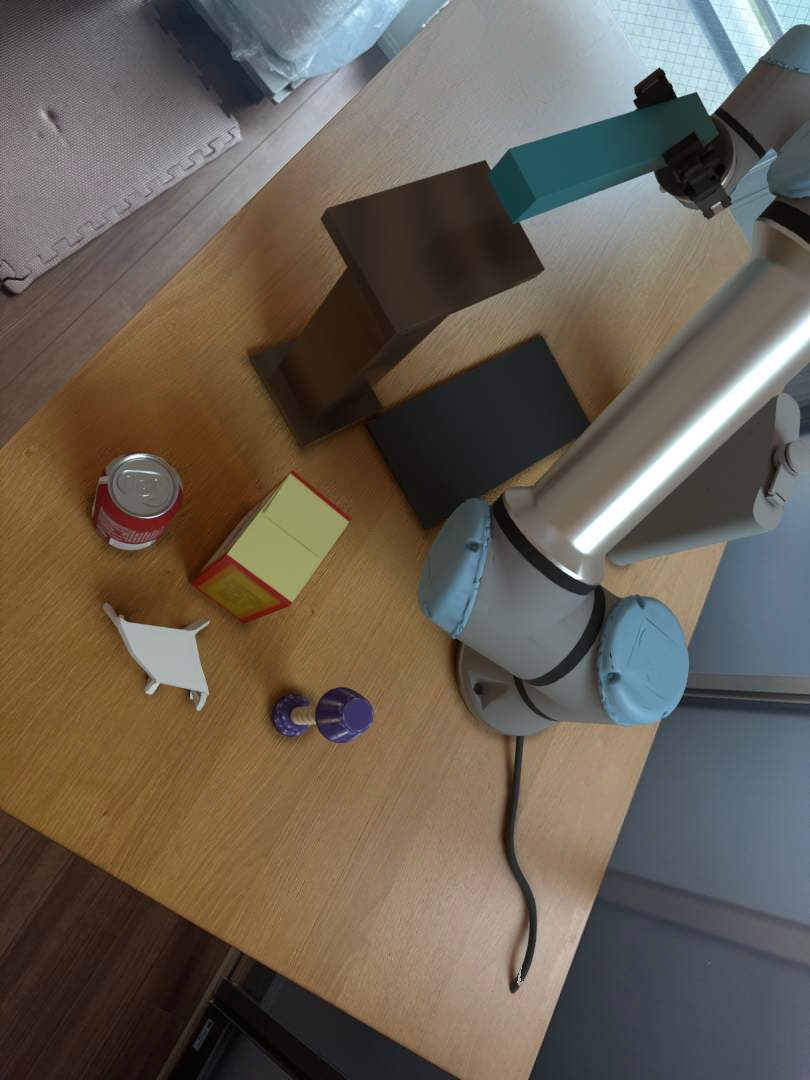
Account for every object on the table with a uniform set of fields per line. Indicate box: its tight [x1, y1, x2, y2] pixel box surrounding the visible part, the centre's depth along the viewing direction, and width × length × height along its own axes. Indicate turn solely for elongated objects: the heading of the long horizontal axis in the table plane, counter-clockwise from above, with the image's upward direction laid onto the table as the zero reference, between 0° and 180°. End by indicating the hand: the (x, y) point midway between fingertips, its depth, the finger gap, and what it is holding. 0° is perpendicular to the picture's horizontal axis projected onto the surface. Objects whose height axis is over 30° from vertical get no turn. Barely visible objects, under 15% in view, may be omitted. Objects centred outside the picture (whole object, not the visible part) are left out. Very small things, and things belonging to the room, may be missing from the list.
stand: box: [249, 159, 546, 450], centre depth 68 cm, size 16×11×30 cm
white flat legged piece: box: [102, 602, 211, 712], centre depth 66 cm, size 12×8×5 cm
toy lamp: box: [270, 686, 375, 744], centre depth 66 cm, size 5×5×17 cm
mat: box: [364, 335, 592, 531], centre depth 90 cm, size 30×14×1 cm, turn 123°
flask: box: [606, 392, 810, 567], centre depth 88 cm, size 17×5×25 cm, turn 156°
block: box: [487, 91, 719, 224], centre depth 57 cm, size 23×4×3 cm, turn 123°
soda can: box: [91, 451, 184, 552], centre depth 65 cm, size 7×7×12 cm
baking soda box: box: [190, 469, 353, 625], centre depth 67 cm, size 10×6×16 cm
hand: (665, 120), depth 57 cm, fingers closed on block, 4 cm apart
